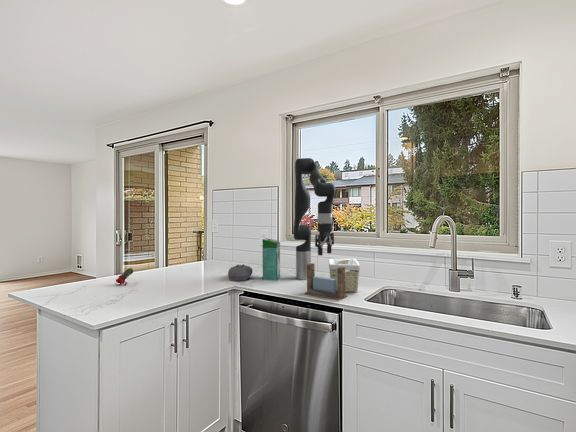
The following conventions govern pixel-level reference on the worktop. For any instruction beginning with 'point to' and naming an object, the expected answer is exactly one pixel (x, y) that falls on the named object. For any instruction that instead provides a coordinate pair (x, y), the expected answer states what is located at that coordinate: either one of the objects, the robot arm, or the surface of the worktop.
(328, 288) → the light blue block
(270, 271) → the milk carton
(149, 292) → the worktop surface
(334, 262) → the storage basket
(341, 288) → the wooden u-shaped rack
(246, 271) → the grey rounded bag
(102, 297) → the worktop surface
